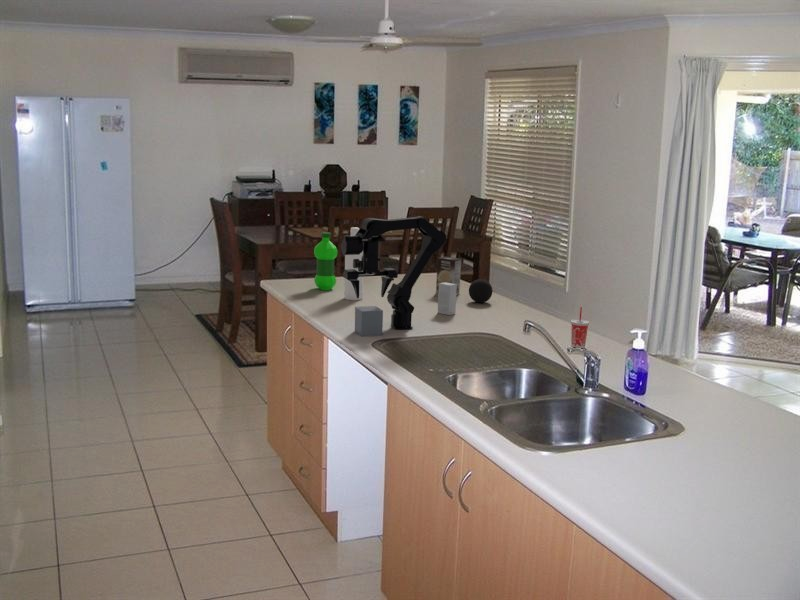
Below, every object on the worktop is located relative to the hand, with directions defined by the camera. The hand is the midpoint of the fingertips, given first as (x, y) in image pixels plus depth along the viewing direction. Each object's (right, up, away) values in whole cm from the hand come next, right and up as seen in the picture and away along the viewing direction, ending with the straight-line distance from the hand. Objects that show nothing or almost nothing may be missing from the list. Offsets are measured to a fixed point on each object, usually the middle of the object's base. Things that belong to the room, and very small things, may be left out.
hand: (370, 297), depth 304 cm
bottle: (-9, 0, +56) cm, 57 cm away
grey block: (-1, -13, -3) cm, 13 cm away
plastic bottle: (-23, +4, +75) cm, 79 cm away
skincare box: (+29, -6, +33) cm, 45 cm away
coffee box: (+32, +2, +73) cm, 80 cm away
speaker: (+44, -2, +57) cm, 72 cm away
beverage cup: (+71, -17, -13) cm, 75 cm away
